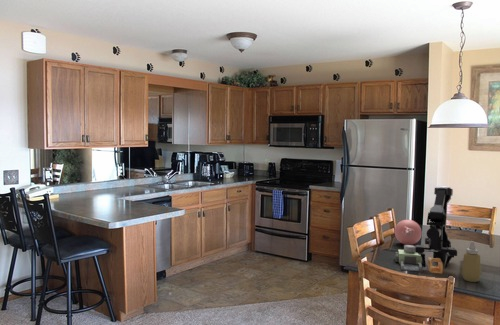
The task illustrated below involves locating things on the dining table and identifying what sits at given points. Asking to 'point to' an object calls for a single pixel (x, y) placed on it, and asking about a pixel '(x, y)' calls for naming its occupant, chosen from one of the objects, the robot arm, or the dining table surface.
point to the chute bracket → (411, 266)
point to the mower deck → (408, 255)
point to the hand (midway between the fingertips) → (434, 267)
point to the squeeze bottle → (471, 264)
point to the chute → (434, 268)
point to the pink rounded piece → (408, 232)
